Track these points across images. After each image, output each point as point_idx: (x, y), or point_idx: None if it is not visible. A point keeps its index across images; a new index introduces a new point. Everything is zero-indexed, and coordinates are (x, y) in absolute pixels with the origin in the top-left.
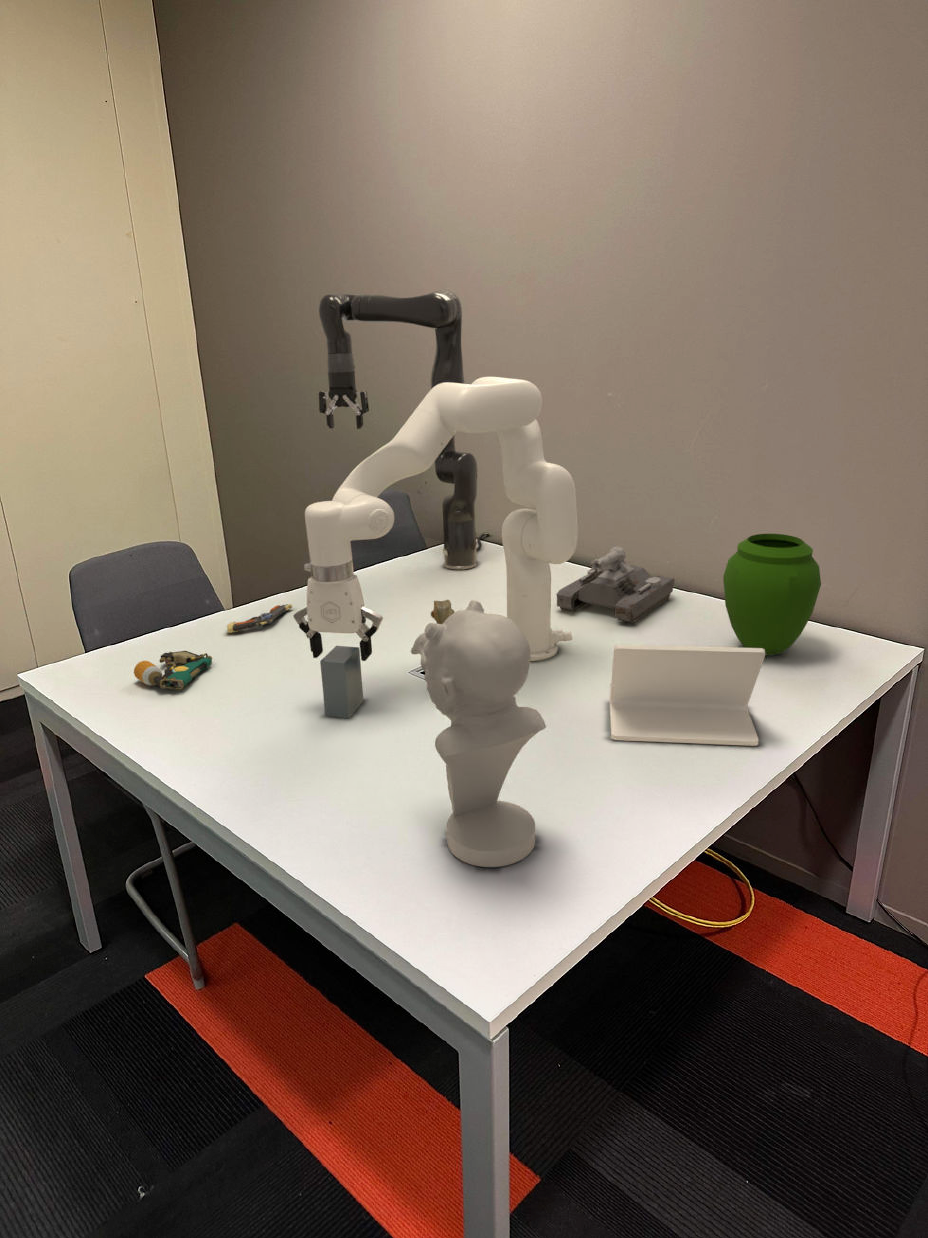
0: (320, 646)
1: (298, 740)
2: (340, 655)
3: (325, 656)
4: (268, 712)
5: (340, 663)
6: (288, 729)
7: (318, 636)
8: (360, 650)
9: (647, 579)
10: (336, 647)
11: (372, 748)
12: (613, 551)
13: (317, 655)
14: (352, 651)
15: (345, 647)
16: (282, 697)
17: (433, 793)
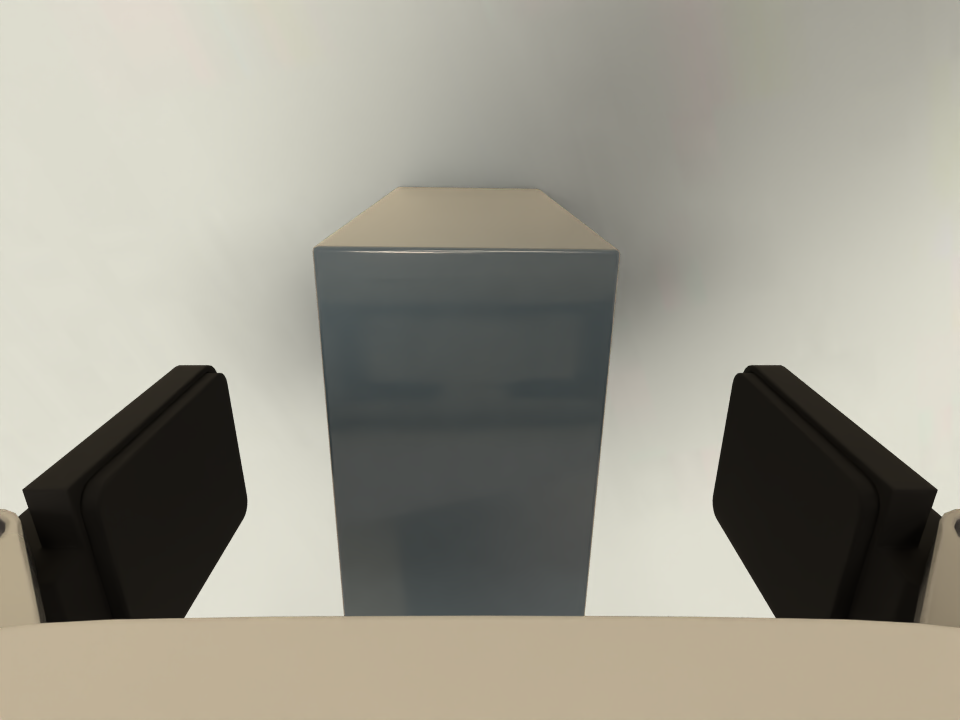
0: (195, 453)
1: None
2: (485, 498)
3: (343, 541)
4: (101, 411)
5: None
6: (298, 533)
7: (121, 568)
8: (759, 588)
9: None
10: (343, 305)
11: (709, 598)
12: None
13: (239, 506)
14: (576, 381)
15: (451, 284)
16: (50, 235)
17: None
